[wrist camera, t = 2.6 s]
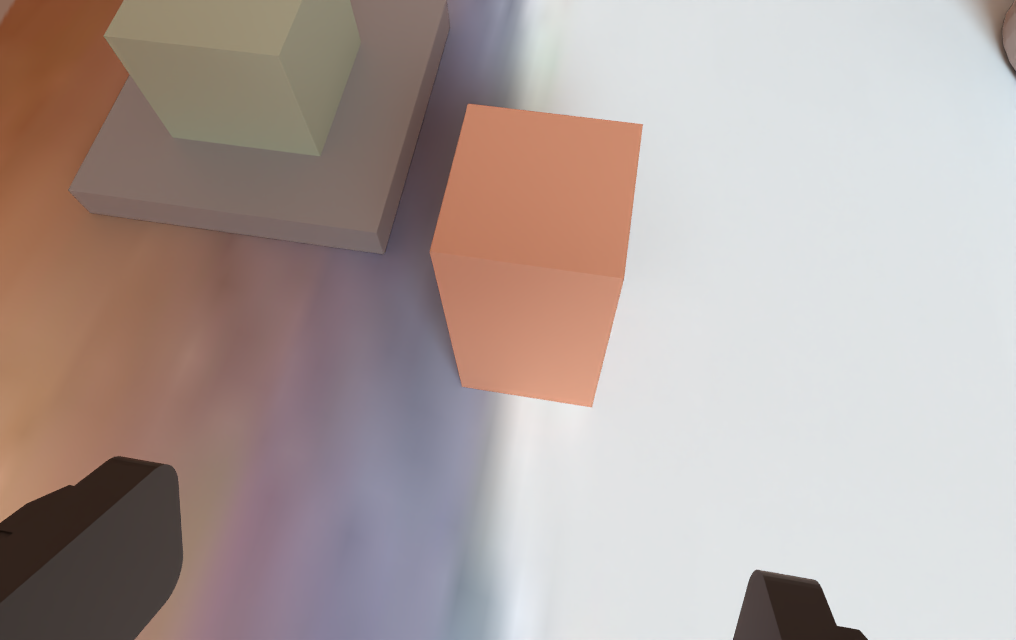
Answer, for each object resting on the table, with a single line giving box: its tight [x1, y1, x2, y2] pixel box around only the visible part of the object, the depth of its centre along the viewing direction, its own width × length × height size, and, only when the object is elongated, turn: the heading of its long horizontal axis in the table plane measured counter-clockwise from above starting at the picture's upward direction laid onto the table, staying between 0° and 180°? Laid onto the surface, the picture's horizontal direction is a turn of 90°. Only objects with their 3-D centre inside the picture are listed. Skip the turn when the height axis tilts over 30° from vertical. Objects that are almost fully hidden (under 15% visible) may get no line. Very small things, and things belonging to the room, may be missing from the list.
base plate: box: [68, 0, 450, 254], centre depth 29 cm, size 12×12×2 cm
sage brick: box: [104, 0, 361, 156], centre depth 26 cm, size 6×6×5 cm
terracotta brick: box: [430, 104, 643, 407], centre depth 21 cm, size 4×4×9 cm
